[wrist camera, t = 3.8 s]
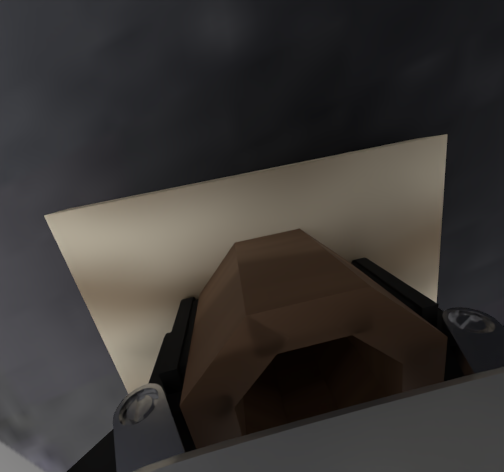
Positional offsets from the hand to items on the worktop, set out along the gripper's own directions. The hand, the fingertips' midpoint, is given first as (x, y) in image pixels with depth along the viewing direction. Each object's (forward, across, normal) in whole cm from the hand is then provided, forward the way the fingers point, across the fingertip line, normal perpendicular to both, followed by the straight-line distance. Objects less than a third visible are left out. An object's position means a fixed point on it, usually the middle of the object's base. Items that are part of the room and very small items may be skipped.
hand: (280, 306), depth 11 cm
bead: (0, 0, 0) cm, 0 cm away
